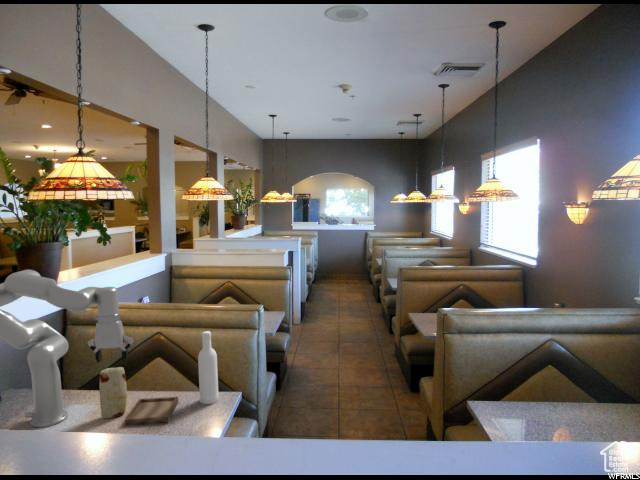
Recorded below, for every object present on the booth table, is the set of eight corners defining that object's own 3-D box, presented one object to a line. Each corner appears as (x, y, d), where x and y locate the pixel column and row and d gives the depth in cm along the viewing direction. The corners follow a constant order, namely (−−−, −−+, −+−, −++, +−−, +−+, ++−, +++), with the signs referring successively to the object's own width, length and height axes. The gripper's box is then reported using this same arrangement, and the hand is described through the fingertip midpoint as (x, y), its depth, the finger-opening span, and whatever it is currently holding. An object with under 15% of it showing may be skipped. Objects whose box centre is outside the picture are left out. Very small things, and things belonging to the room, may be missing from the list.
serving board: (125, 425, 169) (124, 419, 168) (139, 404, 186) (139, 398, 186) (167, 423, 170) (167, 417, 170) (178, 402, 188) (178, 396, 188)
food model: (102, 422, 172) (98, 372, 170) (100, 415, 177) (97, 367, 175) (129, 415, 177) (126, 367, 175) (126, 409, 182) (123, 362, 181)
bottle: (200, 397, 192) (197, 330, 190) (219, 395, 194) (216, 329, 191) (198, 405, 184) (195, 335, 182) (218, 403, 186) (215, 334, 183)
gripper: (81, 322, 169) (85, 365, 170) (128, 319, 171) (131, 362, 172) (90, 317, 176) (93, 358, 178) (134, 314, 178) (137, 356, 179)
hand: (112, 360), depth 175 cm, fingers open, 9 cm apart
